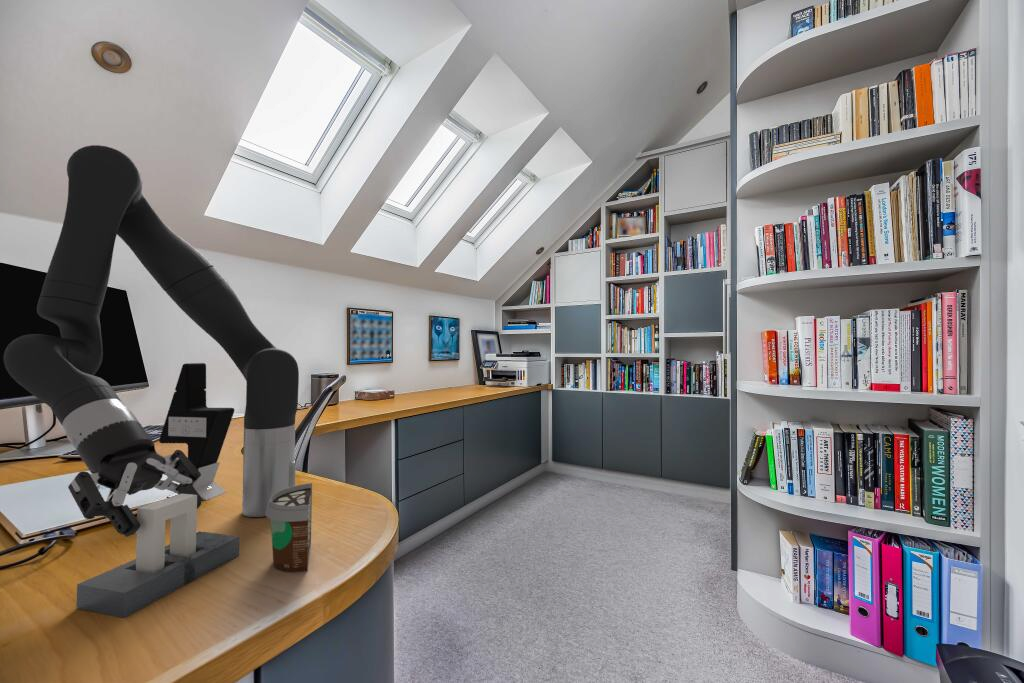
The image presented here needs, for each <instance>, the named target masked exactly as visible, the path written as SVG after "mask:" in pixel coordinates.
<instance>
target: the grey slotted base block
mask: <svg viewBox="0 0 1024 683" xmlns="http://www.w3.org/2000/svg"><path fill="white" fill-rule="evenodd" d="M238 556H240V536H239V535H232V534H231V535H230V534H225V533H223V534H222V533H216V532H207V531H198V532H197V531H196V553H194V554H192V555H190V556H188V557H183V556H176V555H170V543H169V544H167V545H165V562H164V568H163V569H161V570H159V571H157V572H155V573H148V572H142V571H136V558H134V559H132V560H130V561H128V562H126V563H124V564H123V563H122V564H120V565H119V566H116V567H114V568H112V569H110V570H107V571H105V572H103V573H100V574H97V575H96V576H93V577H90V578H88V579H86V580H84V581H81V582H80V583H77V584H76V609H77V610H82V611H88V612H93V613H98V614H103V615H108V616H112V617H118V618H127V617H128V616H131V615H132V614H134V613H136V612H138V611H140V610H141V609H143V608H145V607H146V606H147V607H148V605H150V604H152V603H154V602H155V601H158V600H160V599H161V598H163V597H165V596H166V595H169V594H171V593H172V592H175V591H176V590H178V589H181V588H182V587H183V586H185V585H187V584H189V583H190V582H191V583H192V582H193V581H195V580H196V579H199V578H200V577H201V576H204V575H205V574H207V573H209V572H211V571H213V570H215V569H217V568H219V567H221V566H222V565H224V564H226V563H227V562H230V561H231V560H233V559H235V558H236V557H238Z"/></svg>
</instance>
